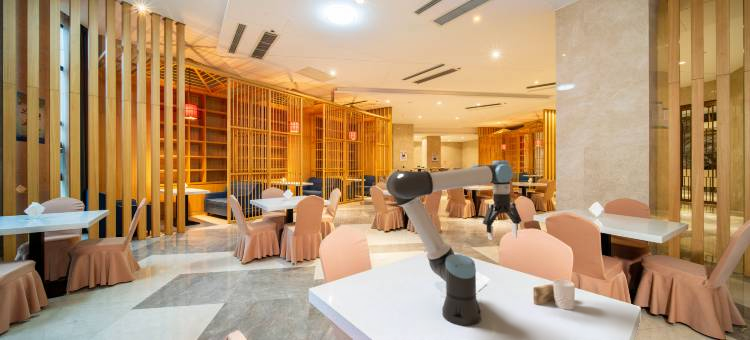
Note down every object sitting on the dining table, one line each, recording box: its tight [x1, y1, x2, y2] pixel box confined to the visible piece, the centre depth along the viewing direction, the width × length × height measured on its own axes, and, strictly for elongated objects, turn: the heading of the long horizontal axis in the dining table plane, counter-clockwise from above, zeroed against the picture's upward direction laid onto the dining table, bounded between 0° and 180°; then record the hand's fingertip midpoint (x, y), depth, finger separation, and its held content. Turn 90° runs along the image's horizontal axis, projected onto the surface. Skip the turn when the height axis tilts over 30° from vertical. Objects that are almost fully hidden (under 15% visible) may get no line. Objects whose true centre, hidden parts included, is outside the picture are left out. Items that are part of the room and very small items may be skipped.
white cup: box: [552, 279, 576, 311], centre depth 124 cm, size 8×8×10 cm
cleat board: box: [532, 283, 555, 306], centre depth 128 cm, size 16×4×7 cm, turn 107°
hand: (502, 238), depth 137 cm, fingers open, 13 cm apart
